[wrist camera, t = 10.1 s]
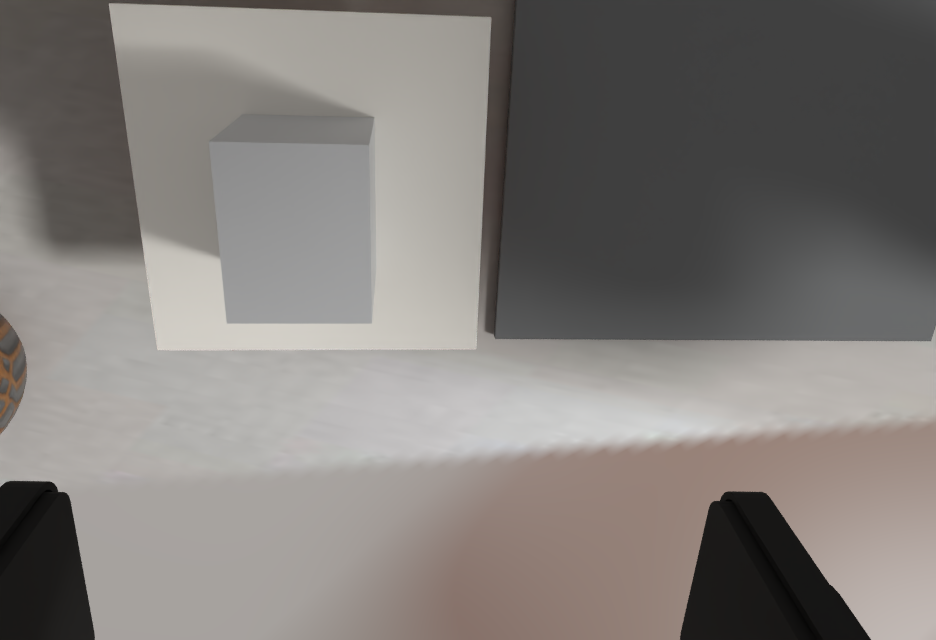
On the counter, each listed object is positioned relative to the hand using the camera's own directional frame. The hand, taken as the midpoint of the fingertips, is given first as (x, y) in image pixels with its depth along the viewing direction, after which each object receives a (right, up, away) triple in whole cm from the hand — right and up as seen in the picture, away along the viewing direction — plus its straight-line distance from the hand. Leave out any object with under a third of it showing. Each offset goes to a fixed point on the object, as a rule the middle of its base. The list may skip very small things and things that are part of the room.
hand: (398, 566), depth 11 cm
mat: (+12, +10, +20) cm, 25 cm away
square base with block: (-4, +8, +14) cm, 16 cm away
